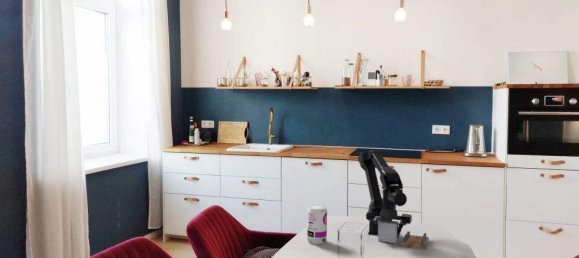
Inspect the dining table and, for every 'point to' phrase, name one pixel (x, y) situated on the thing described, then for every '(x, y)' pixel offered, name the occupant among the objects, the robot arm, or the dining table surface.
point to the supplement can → (317, 225)
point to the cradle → (415, 241)
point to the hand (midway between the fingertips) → (388, 236)
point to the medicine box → (388, 231)
